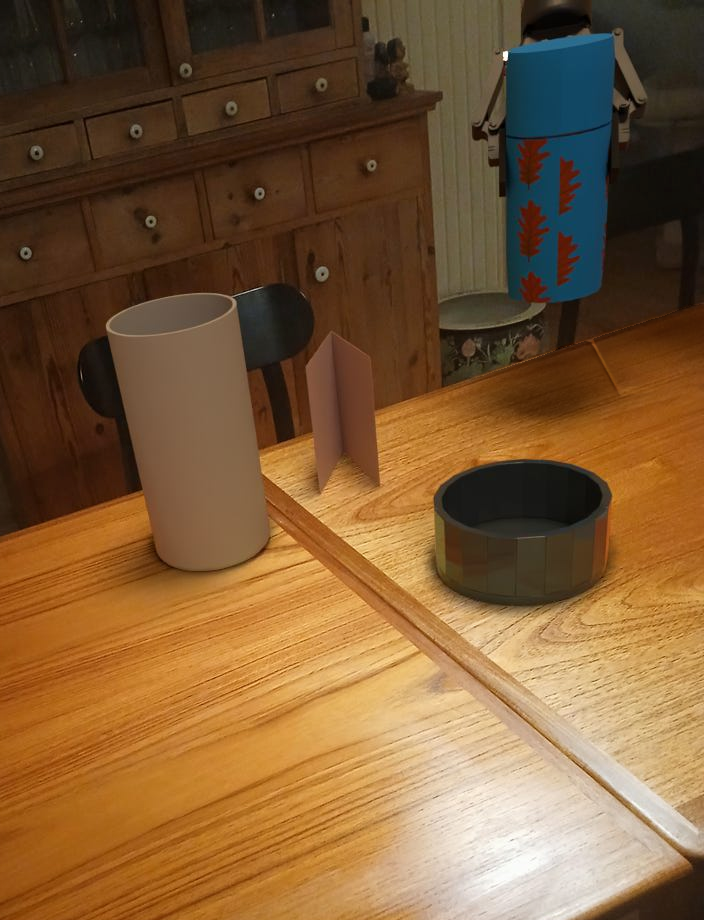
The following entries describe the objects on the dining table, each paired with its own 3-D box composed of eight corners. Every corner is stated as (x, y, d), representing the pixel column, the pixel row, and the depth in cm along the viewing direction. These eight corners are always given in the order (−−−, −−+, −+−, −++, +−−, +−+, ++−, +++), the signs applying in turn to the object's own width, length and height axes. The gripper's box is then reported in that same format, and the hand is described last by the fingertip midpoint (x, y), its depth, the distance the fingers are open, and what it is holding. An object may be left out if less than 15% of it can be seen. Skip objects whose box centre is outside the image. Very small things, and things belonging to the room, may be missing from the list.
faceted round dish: (590, 516, 99) (594, 452, 95) (622, 600, 86) (627, 530, 82) (432, 528, 102) (429, 467, 98) (440, 611, 89) (438, 544, 85)
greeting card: (335, 451, 121) (323, 331, 113) (395, 451, 119) (387, 327, 111) (312, 494, 113) (297, 367, 104) (376, 494, 110) (366, 364, 102)
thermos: (545, 271, 122) (550, 37, 108) (622, 280, 114) (638, 29, 100) (486, 297, 117) (483, 56, 103) (563, 308, 109) (571, 49, 95)
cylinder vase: (167, 586, 101) (113, 346, 87) (149, 533, 111) (99, 311, 97) (284, 556, 102) (249, 315, 88) (256, 507, 112) (221, 285, 98)
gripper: (663, 12, 110) (668, 190, 107) (451, 46, 117) (449, 215, 113) (673, -44, 103) (680, 145, 100) (447, -4, 110) (445, 175, 106)
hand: (557, 182), depth 106 cm, fingers closed on thermos, 11 cm apart
